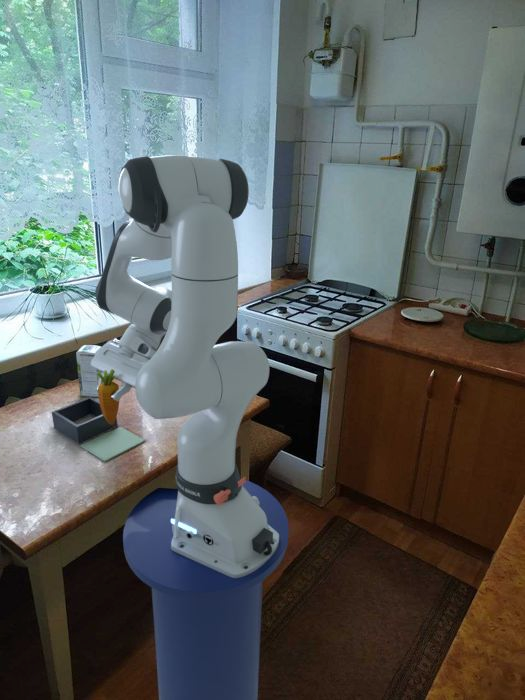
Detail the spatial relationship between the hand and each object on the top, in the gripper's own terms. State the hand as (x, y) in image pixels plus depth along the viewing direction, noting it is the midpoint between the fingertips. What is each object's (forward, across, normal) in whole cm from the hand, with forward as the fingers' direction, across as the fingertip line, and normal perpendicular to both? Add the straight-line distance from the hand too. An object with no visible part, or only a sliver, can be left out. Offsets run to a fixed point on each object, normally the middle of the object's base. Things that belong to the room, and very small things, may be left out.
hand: (106, 395), depth 120 cm
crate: (+9, -12, +10) cm, 18 cm away
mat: (+9, 0, +10) cm, 14 cm away
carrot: (+6, 0, +6) cm, 9 cm away
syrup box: (0, -28, +20) cm, 34 cm away
